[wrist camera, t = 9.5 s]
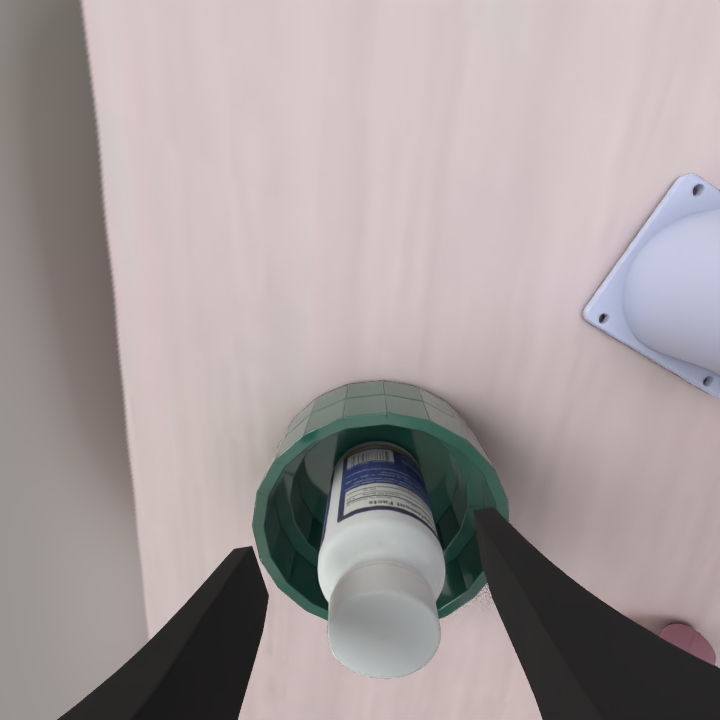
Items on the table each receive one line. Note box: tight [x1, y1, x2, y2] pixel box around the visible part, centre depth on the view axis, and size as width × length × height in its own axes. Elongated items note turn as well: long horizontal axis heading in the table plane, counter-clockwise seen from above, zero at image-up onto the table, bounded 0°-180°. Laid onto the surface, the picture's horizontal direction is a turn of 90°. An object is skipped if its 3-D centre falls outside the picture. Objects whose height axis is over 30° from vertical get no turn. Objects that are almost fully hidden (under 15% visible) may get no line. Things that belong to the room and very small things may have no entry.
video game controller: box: [658, 624, 716, 665], centre depth 24 cm, size 10×5×7 cm, turn 163°
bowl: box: [252, 380, 509, 621], centre depth 21 cm, size 12×12×5 cm
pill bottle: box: [318, 441, 445, 679], centre depth 18 cm, size 5×5×10 cm
